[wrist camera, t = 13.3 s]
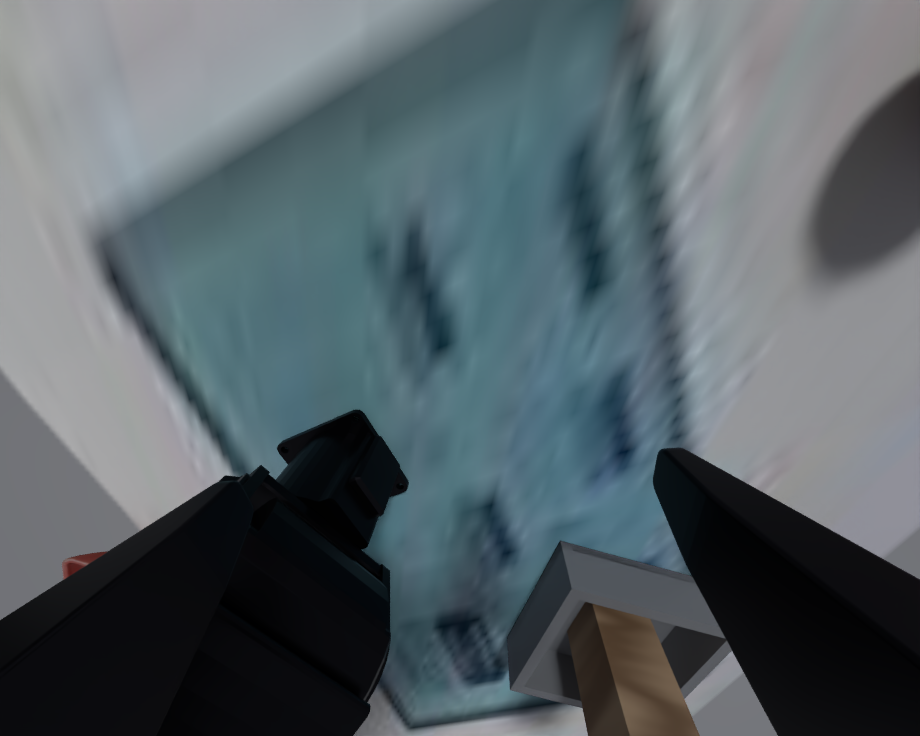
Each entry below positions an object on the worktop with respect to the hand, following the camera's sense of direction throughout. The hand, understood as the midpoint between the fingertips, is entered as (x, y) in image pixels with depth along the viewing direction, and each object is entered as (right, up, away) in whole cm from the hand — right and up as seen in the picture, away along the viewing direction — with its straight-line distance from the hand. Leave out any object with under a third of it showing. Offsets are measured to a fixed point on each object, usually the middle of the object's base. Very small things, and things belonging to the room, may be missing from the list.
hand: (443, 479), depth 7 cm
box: (+11, -17, +20) cm, 28 cm away
